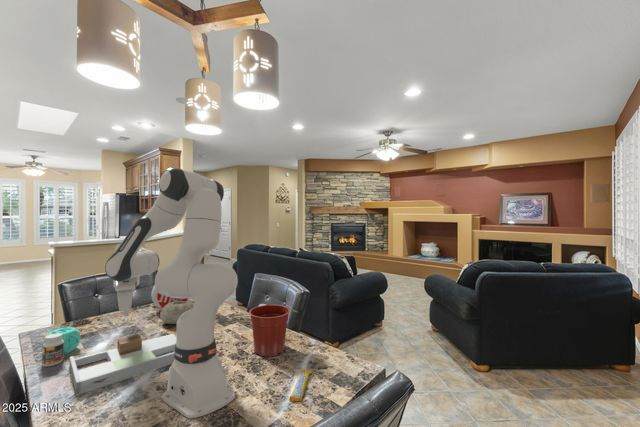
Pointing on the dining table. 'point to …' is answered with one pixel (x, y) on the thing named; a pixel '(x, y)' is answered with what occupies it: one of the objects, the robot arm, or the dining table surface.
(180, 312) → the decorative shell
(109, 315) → the dining table surface
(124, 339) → the walnut block
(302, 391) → the candy bar
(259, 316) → the flower pot
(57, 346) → the pill bottle
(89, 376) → the board
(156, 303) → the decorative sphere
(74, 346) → the decorative dice
